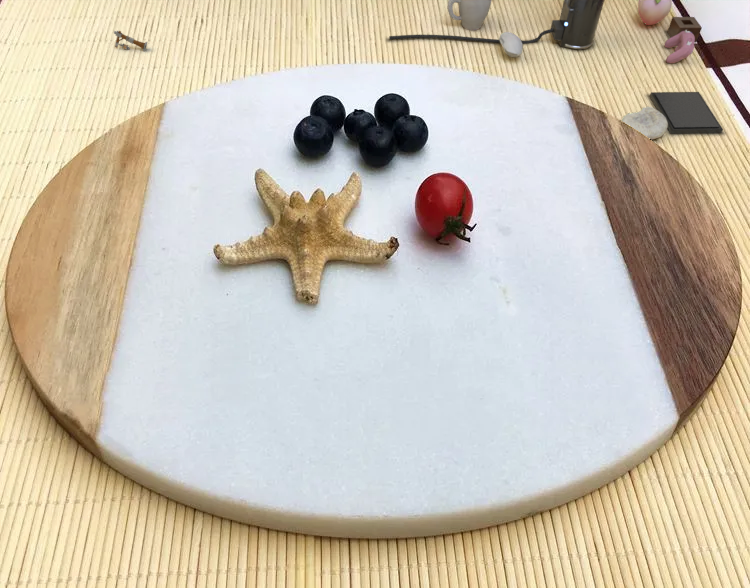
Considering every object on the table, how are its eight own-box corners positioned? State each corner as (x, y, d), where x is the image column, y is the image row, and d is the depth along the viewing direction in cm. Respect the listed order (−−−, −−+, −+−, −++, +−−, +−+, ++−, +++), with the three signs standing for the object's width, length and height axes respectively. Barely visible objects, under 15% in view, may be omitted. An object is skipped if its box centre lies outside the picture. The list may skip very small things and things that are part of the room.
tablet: (670, 134, 154) (672, 129, 153) (649, 96, 164) (651, 91, 163) (721, 133, 155) (723, 128, 154) (697, 95, 164) (699, 90, 164)
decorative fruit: (667, 33, 183) (681, -5, 175) (637, 32, 183) (650, -6, 175) (658, 17, 189) (672, -21, 181) (630, 16, 189) (642, -22, 181)
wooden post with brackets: (112, 43, 171) (115, 27, 168) (144, 56, 174) (147, 41, 171) (110, 46, 170) (113, 30, 167) (142, 60, 173) (145, 44, 170)
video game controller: (677, 71, 174) (700, 49, 169) (664, 61, 173) (686, 38, 168) (675, 52, 180) (696, 30, 175) (662, 43, 179) (683, 20, 174)
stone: (492, 47, 177) (496, 28, 173) (511, 45, 178) (515, 25, 174) (506, 66, 171) (510, 46, 167) (526, 63, 172) (530, 44, 168)
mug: (480, 16, 187) (486, -22, 179) (492, 31, 182) (498, -7, 174) (440, 20, 185) (443, -17, 177) (451, 36, 180) (455, -2, 172)
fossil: (636, 95, 156) (676, 113, 154) (629, 109, 159) (668, 127, 157) (620, 117, 150) (662, 136, 148) (613, 131, 153) (654, 150, 151)
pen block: (674, 42, 180) (680, 27, 177) (667, 31, 184) (672, 16, 181) (696, 42, 181) (702, 27, 177) (688, 31, 184) (694, 16, 181)
